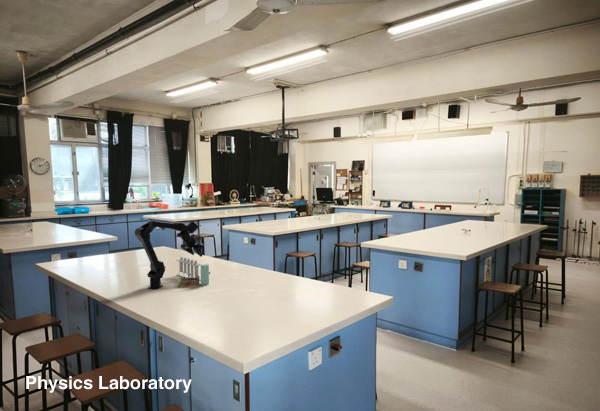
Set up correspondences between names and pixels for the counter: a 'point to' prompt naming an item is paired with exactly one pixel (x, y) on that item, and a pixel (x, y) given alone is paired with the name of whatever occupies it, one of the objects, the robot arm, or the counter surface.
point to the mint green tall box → (205, 274)
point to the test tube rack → (188, 267)
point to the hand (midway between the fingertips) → (197, 255)
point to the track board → (189, 282)
